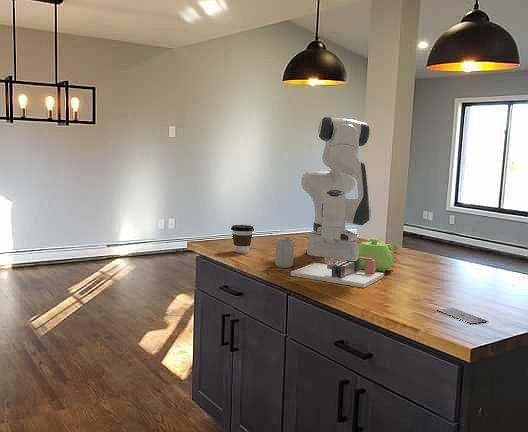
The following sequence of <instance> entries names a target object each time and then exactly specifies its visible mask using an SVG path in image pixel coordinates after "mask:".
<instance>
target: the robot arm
mask: <svg viewBox="0 0 528 432" xmlns="http://www.w3.org/2000/svg"><path fill="white" fill-rule="evenodd" d="M317 133H318V134H317V135H318V137H319V139H320V140H321V141H324V142H325V144H324V149H323V153H322V157H321V159H322V163H323V164H324V166H326V167H327V168H328V169H330V170H312V171H306V172H304V173H303V176H302V177H301V187H302V190H303V191H304V192H305V193H306V194H307V195H308V196H309V197H310V198H311V200H312V202H313V203H312V204H313V207H314V222H313V224H312V227H313V228H312V229H313V230H312V231H310V232H309V233H308V234H307V236H308V237H307V245H306V253H307V256H308V255H309V256H315V257H320V258H321V257H322V258H324V261H325V264H326V265H327V269H331V270H332V266H335V265H337V264H339V262H340V260H343V261H346V260H349V261H355V260H357V259H358V257H359V243H358V241H357V239H358V234H356V233H354V232H352V231H350V230H348V229H346V224H349V225H350V224H351V225H352V224H353V225H358V226H364V225H365V224H368V223H369V222H370V220H371V218H372V207H371V203H370V200H369V190H368V189H369V187H368V186H369V185H368V177H367V176H368V175H367V169H366V165H365V162H363V161H362V160H361V159H360V155H359V147H364V146H366V145H367V144H368V141H369V139H370V136H371V130H370V125H369V124H368V123H366V122H364V121H359V120H355V119H349V118H344V117H343V118H342V117H332V116H325V117H323V118H322V119H320V122H319V123H318V127H317ZM355 180H356V181H355ZM356 183H357V184H356ZM355 185H357V194H358V197H357V198H347V196H346V194H350V193H351V192H353V190H354V189H355V187H356V186H355ZM331 259H333V262H334V263H333V264H332V263H331V261H330V260H331Z"/></svg>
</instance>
